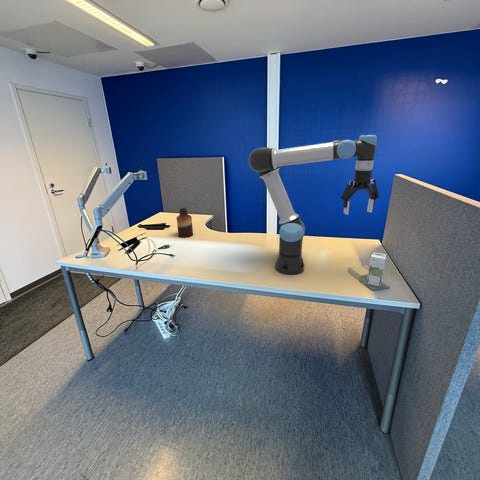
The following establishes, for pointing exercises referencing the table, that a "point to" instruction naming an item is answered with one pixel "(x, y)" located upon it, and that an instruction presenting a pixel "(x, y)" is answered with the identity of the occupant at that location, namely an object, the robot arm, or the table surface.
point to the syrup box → (376, 269)
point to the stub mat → (382, 286)
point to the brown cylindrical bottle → (184, 224)
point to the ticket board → (359, 271)
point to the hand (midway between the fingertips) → (357, 212)
